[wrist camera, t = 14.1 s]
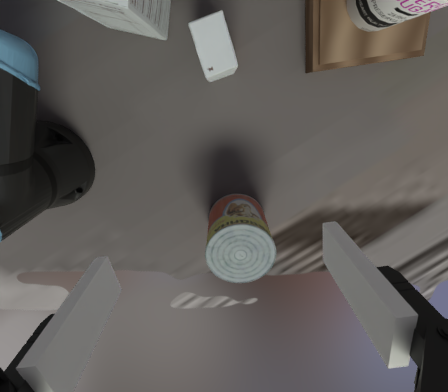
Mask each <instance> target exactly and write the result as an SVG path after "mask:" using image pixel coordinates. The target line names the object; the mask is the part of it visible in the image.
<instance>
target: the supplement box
mask: <svg viewBox="0 0 448 392" xmlns="http://www.w3.org/2000/svg"><path fill="white" fill-rule="evenodd" d="M57 1H59V2H61V3H63V4H65V5H68V6H69V7H71V8H74V9H75V10H77V11H79V12H80V13H82V14H84V15H86V16H88V17H90V18H91V19H93V20H95V21H97V22H99V23H101V24H103V25H104V26H106V27H108V28H112V29H116V30H120V31H125V32H129V33H134V34H139V35H143V36H148V37H152V38H157V39H161V40H167V37H168V26H169V16H170V6H171V0H57Z"/></svg>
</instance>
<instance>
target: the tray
mask: <svg viewBox="0 0 448 392" xmlns="http://www.w3.org/2000/svg"><path fill="white" fill-rule="evenodd" d="M430 13H431V12H429V13H426V14H423V15H420V16H418V17H415V18H412V19H409V20H407V21H404V22H401V23H399V24H396V25H393V26H390V27H388V28H385V29H382V30H379V31H369V32H368V31H365V30H362V29H359V28H358V27H357V26H356V25H355V24H354V23H353V22H352V21H351V19H350V16H349V14H348V11H347V0H305V38H306V73H310V72H316V71H323V70H330V69H337V68H344V67H351V66H358V65H365V64H372V63H379V62H385V61H392V60H399V59H406V58H412V57H418V56H424V51H425V45H426V38H427V32H428V26H429V19H430Z"/></svg>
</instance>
